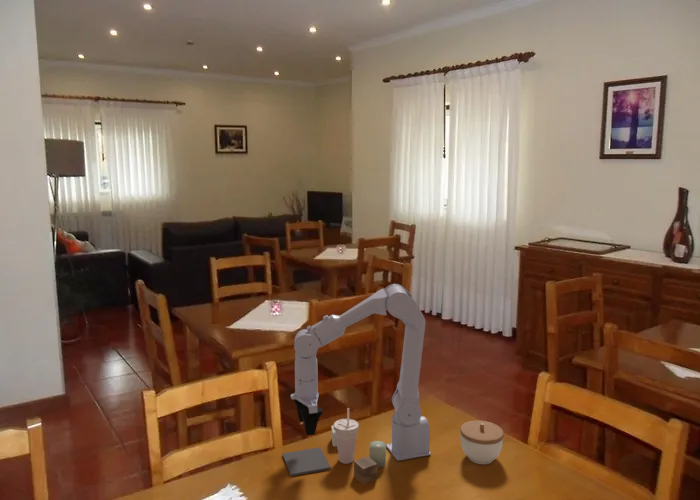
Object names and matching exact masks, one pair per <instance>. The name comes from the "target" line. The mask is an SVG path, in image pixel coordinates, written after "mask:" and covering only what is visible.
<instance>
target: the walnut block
mask: <svg viewBox="0 0 700 500" xmlns="http://www.w3.org/2000/svg"><path fill="white" fill-rule="evenodd" d="M353 477H354V478H355V479H356V480H358V481H359V482H360V483H361V484H362V485H365V484H367V483H370V482H371V483H372V482H373V481H375V480H378V468H377V463H375V462H374V461H373V460H371V459H370V456H365V457H363V458H359V459H357V460H353Z"/></svg>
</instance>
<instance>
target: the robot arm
mask: <svg viewBox="0 0 700 500" xmlns="http://www.w3.org/2000/svg"><path fill="white" fill-rule="evenodd" d="M418 305H419V304H418V303H417V302H416V300H415V299H414V297H413V296H412V294H411V293H410V292H409V291H408V290H407V289H406V288H405V287H404V286H403V285H401V284H398V283H393V284H389V285H388V286H387V285H386V287H385V288H380V289H378V291H376V292H374V293H373V294H372V295H370V296H368V297H367V298H365V299H364V300H362V301H361V302H358V303H357V304H356V305H354V306H353V307H351V308H349V309H348V310H347V311H345V312H344V313H342V314H341V315H338V314H337V315H336V314H331V315H328V314H326V315H323V317H322V320H320V321H319V322H316V323H314V324H313V325H312V326H311V325H308V326H307V327H306V329H305V328H304V329H300V330H299V331H298V332H297V333H296V335H295V336H294V340H293V342H294V343H293V344H294V345H293V349H294V351H295V353H294V358H295V359H294V389H295V391H294V393H291V394H290V399H291V400H293V401H294V405H295V407H296V411H297V416H298V420H299V422H300V423H302V422H303V426H304V430H305V434H306V436H314V435H316V432H317V427H318V423H319V419H320V417H321V416H322V414H323V411H324V410H323V409H322V407H318V400H319V395H320V394H319V393H320V392H318V391H319V387H318V386H319V385H318V384H319V381H318V380H319V378H318V377H319V376H318V373H319V372H318V371H319V370H318V358H317V353H318V350H319V349H320V348H322V347H325V346H326V345H328V344H329V343H331V342H333V341H335V340H336V339H339V338H340V337H342V336H343V335H345V331H346V328H348V327H349V326H352V325H354V324H356V323H357V322H360V321H361V320H363V319H365V318H367V317H369V316H371V315H374V314H377V315H382V316H387V311H388V313H389V314H390V315H391V316H393V317H394V318H396V319H399V320H401V322H402V323H403V325H405V326H404V333H403V335H404V336H403V345H402V353H401V362H400V363H401V364H400V370H399V380H398V382H397V384H396V389H395V391H394V392H393V395H392V397H391V402H392V405H393V407H394V413H393V414H392V416H391V443H385V445H386V449H388V450H389V451H390V453H391V455H392V456H393V457H394V458H395V460H396V461H404V460H410V459H416V458H420V457H426V456H430V455H432V454H431V451H430V446H431V445H430V443H431V438H430V437H431V429H430V424H429V421H428V419H427V418H426V416H424V415H422V409H421V407H420V393H419V391H420V390H419V385H420V384H419V383H420V382H419V381H420V374H421V364H422V358H423V357H422V356H423V350H424V349H423V348H424V340H425V339H424V338H425V332H426V331H425V330H426V323H427V322H426V318H425V316H424V314H423V313H422V311H421V309H420V307H419V306H418Z"/></svg>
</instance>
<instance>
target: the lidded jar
mask: <svg viewBox="0 0 700 500" xmlns="http://www.w3.org/2000/svg"><path fill="white" fill-rule="evenodd" d="M459 430H460V443H461V449H462V451H463V452H464V454H465V455H466V457H467V458H468V459H469V460H470V462H472V463H474V464H477V465H490V464H491V463H493V461H495V460H496V459H497V458H498V456H499V455H500V453H501V451H502V449H503V448H502V447H503V442H504V433H505V432H504V429H502V428H501V426H499V425H497V424H495V423H494V422H491V421H486V420H480V419H479V420H469V421H466V422H464V423H462V424H461V426H460V428H459Z"/></svg>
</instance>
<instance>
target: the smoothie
mask: <svg viewBox="0 0 700 500" xmlns="http://www.w3.org/2000/svg"><path fill="white" fill-rule="evenodd" d="M346 411H347V413H346V418H340V419H338V420H336V421H334V423H333V425H334V430H335V434H336V441H337V446H336V447H337V455H338V461H339V462H340V463H342V464H345V465H346V464H347V465H349V464H351V463H354V461H355V460H354V458H355V451H356V450H355V449H356V445H357V443H356V442H357V436H358V431H359V428H360V427H359V422H358V421H357V420H355V419H353V418H352V419H351V418H350V407H347V409H346Z"/></svg>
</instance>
